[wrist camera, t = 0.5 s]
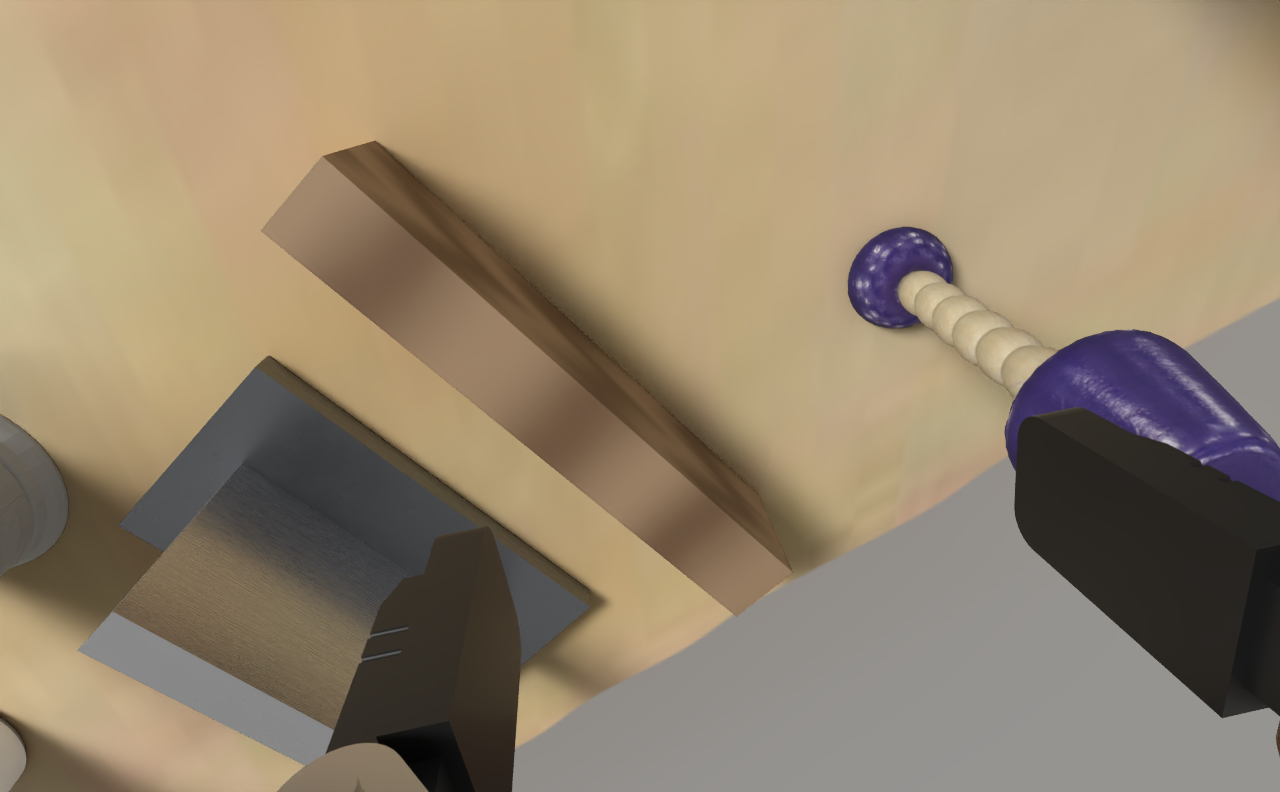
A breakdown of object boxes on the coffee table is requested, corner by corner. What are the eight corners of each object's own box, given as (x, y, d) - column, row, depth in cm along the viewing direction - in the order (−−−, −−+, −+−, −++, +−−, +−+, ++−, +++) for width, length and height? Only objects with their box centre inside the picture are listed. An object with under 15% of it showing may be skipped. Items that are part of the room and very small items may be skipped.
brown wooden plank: (326, 199, 26) (260, 231, 20) (377, 140, 25) (322, 156, 20) (710, 529, 34) (736, 616, 28) (757, 491, 33) (793, 572, 28)
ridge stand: (268, 355, 28) (120, 488, 19) (589, 590, 34) (594, 774, 25) (134, 509, 30) (-55, 692, 21) (458, 702, 37) (419, 907, 28)
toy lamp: (888, 353, 30) (1201, 626, 15) (809, 295, 29) (1069, 533, 14) (966, 263, 29) (1398, 466, 14) (888, 198, 27) (1273, 343, 12)
